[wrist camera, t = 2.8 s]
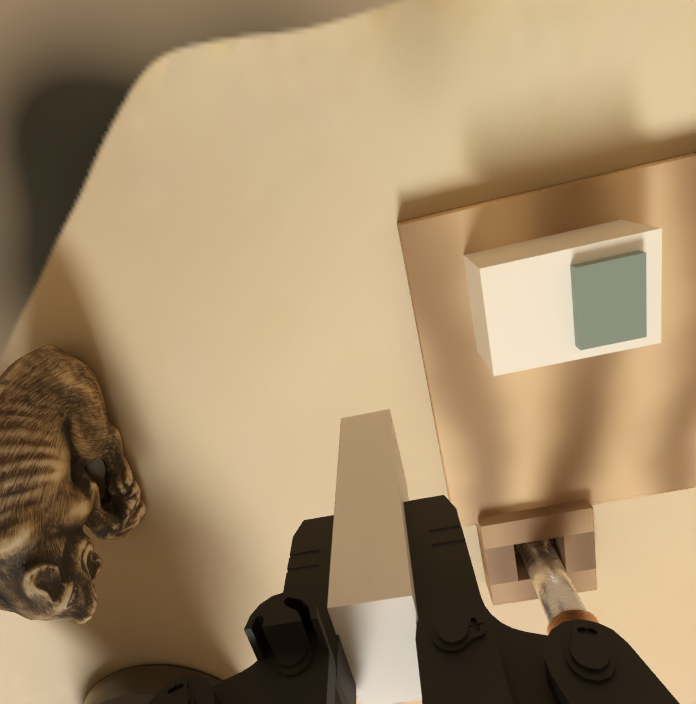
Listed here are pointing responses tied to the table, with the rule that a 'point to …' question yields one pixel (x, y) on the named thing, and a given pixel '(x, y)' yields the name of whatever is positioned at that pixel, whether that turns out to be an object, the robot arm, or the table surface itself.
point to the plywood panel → (568, 377)
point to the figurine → (57, 486)
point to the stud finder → (566, 296)
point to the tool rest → (533, 525)
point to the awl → (552, 584)
